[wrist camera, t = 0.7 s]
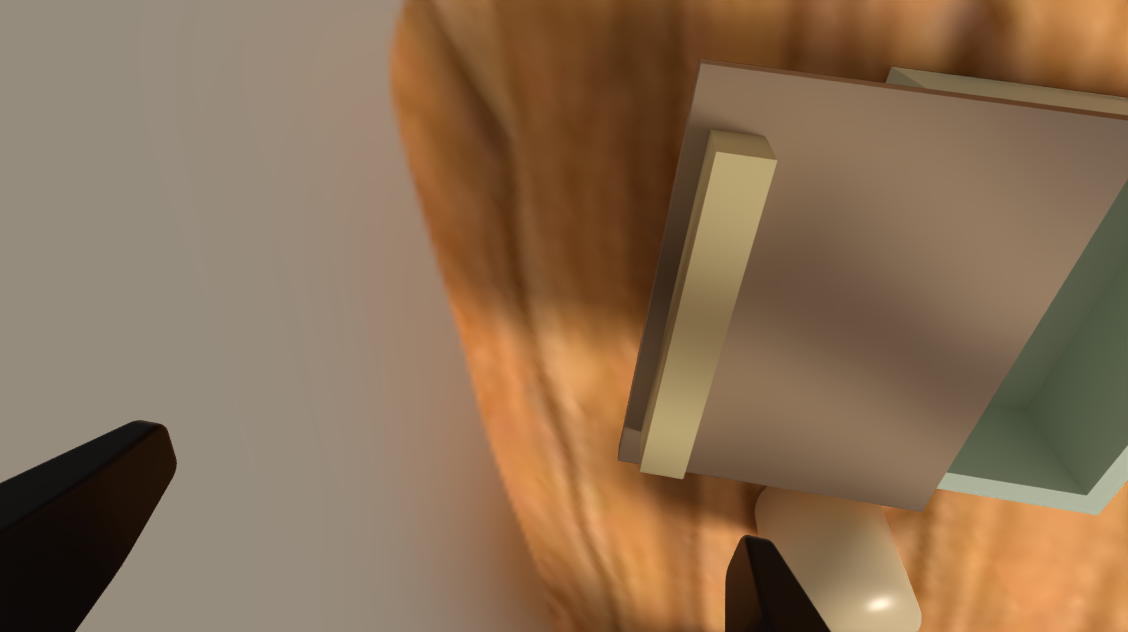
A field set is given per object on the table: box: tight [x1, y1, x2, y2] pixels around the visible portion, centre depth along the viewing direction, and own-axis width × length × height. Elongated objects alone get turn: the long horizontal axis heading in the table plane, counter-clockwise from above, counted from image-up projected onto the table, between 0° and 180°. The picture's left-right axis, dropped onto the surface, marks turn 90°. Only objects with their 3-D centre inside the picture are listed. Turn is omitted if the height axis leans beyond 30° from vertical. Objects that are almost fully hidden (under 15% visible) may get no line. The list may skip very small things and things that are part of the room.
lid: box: [618, 58, 1128, 512], centre depth 15 cm, size 12×9×2 cm
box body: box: [886, 67, 1128, 515], centre depth 18 cm, size 11×9×4 cm
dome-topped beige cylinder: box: [755, 486, 922, 632], centre depth 24 cm, size 5×5×5 cm
